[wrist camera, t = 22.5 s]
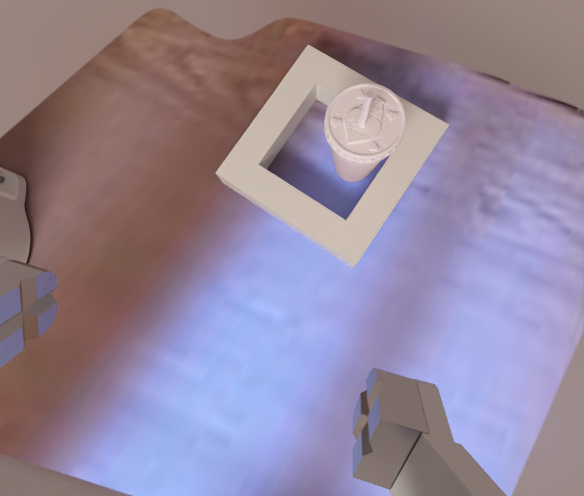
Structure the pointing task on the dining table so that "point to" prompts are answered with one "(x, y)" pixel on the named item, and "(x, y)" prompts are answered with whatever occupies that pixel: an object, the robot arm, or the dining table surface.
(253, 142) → the beige square frame
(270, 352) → the dining table surface
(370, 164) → the smoothie
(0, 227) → the robot arm
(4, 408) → the dining table surface
